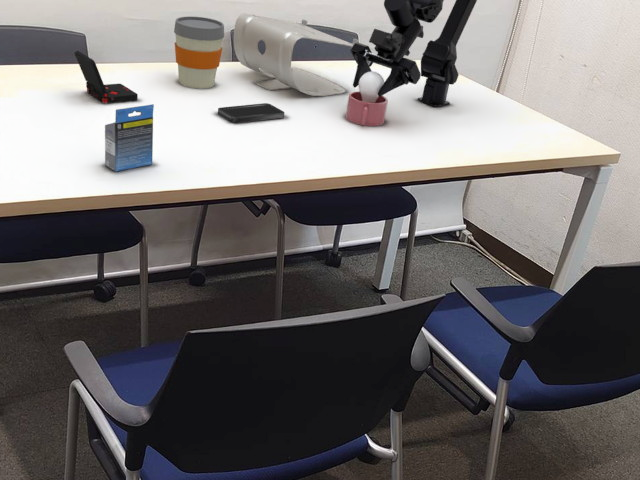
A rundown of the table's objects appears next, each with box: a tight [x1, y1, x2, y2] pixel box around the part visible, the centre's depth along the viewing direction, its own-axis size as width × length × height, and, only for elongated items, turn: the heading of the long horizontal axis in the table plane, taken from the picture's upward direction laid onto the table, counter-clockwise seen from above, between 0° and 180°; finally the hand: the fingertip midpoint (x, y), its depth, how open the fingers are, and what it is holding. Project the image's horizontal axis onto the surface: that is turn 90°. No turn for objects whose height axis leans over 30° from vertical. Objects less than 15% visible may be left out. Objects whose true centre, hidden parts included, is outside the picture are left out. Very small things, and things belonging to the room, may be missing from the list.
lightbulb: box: [358, 70, 385, 103], centre depth 215 cm, size 6×6×11 cm
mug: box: [345, 90, 389, 127], centre depth 215 cm, size 13×10×6 cm
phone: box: [217, 102, 285, 124], centre depth 209 cm, size 8×1×15 cm
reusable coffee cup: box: [173, 16, 225, 90], centre depth 222 cm, size 13×12×15 cm
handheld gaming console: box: [74, 50, 138, 104], centre depth 206 cm, size 9×12×10 cm
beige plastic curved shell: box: [233, 13, 360, 97], centre depth 233 cm, size 26×24×16 cm
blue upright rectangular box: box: [104, 103, 155, 173], centre depth 171 cm, size 9×4×12 cm, turn 133°
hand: (366, 90), depth 213 cm, fingers open, 7 cm apart
